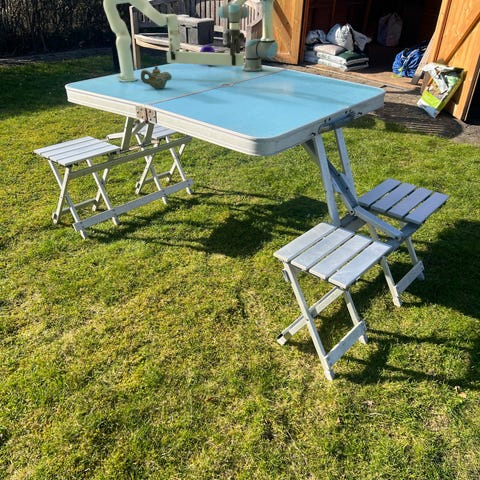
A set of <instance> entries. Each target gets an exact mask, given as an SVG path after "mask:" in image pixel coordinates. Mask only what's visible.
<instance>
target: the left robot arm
mask: <svg viewBox="0 0 480 480" xmlns="http://www.w3.org/2000/svg"><path fill="white" fill-rule="evenodd" d="M127 3H129V4H130V5H132V7H134V8H135V9H137V10H138V11H139V12H141V13H142V14H143V15H144V16H146V17H147V18H148V19H150V20H151V21H152V22H153V23H155V24H156V25H157V26H159V27H164V26H166V25H167V32H168V33H167V34H168V35H167V36H168V51H170V54H171V60H175V54H174V52H175V51H180V50H181V45H182V44H181V38H180V34H179V33H180V32H179V19H178V14H176V13H168V14H167V13H161V12H160V11H158V10H157V9H156V8H154V7H153V5H151V3H150V2H149V1H148V0H103V4H102V5H103V9H104V12H105V15H106V17H107V20H108V21H107V22H108V23H109V26H110V29H111V31H112V32H113V33H114V34H115V36H116V40H115V45H116V50H117V56H118V62H119V67H120V68H119V69H120V74H119V75H115V76H114V78H115V79H117V80H119V81H120V82H123V83H126V82H128V83H130V82H135V81H137V79H138V78H137V77H135V71H134V63H133V57H132V56H133V55H132V50H131V45H132V38H131V35H130V33H129V30H128V27H127V24H126V22H125V21H124V20H123V19H121V16H120V13H119V10H118V9H117V5H118V4H127Z"/></svg>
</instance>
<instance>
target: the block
mask: <svg viewBox="0 0 480 480" xmlns="http://www.w3.org/2000/svg"><path fill="white" fill-rule="evenodd" d="M174 54H175V60H171V54H170V51H169V50H168V51H166V63H167V64H183V65H200V66H202V65H204V66H208V65H212V66H222V67H223V66H224V67H244V65H245V53H240V54H237V53H235V58H236V65H235V66H234V65H232V56H230V52H224V53H211V52H200V51H185V50H183V51H182V50H181V51H180V50H179V51H175V52H174Z"/></svg>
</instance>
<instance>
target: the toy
mask: <svg viewBox="0 0 480 480" xmlns="http://www.w3.org/2000/svg"><path fill="white" fill-rule="evenodd" d="M199 52H211V53H226V50H218V51H216V50H215V48H214V47H213V46H211V45H204V46H202V47H201V49H200V50H199ZM211 66H212V67H213V65H207V67H211Z"/></svg>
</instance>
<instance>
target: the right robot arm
mask: <svg viewBox="0 0 480 480" xmlns="http://www.w3.org/2000/svg"><path fill="white" fill-rule="evenodd" d="M247 1H248V0H230V1H229V2H228V3H226V5H225V6H219V7H218V11H217V14H218V17H219V18H220V19H228V27H229V28H228V29H229V30H228V32H229V35H228V36H229V37H231V38H230V40H229V53H230V56H232V65H234V66H233V67H236V66H235V65H236V58H235V53H237V54H241V38H240V37H239V36H241V20H243V19H247V18H249V17H250V9H249V7H247V6H245V3H246V2H247ZM259 1H260V3H261V38H255V39H249V40H246V41H245V60H244V65H243V71H244V72H260V71H262V70H263V66H262V64H263V65H266V63H265V62H261V58H268V59H270V58H271V59H273V58H275V57H276V55H277V53H278V50H279V44H278V42H277V41H276V38H275V37H274V2H275V1H276V0H259Z"/></svg>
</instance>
